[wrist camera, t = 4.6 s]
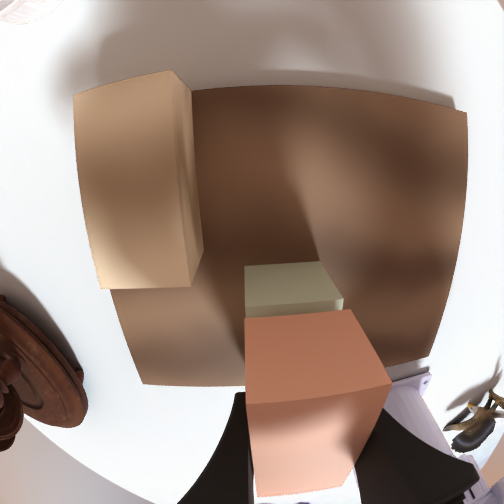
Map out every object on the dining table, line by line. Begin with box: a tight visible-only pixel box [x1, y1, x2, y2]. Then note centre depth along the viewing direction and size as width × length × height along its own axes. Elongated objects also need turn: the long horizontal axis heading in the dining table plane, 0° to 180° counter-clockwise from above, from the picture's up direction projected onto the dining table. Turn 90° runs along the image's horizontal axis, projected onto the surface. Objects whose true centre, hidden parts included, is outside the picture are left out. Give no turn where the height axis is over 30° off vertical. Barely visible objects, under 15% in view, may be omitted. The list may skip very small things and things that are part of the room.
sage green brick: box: [244, 261, 343, 318], centre depth 14 cm, size 8×4×4 cm, turn 3°
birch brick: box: [74, 70, 204, 289], centre depth 11 cm, size 8×4×4 cm, turn 3°
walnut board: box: [110, 85, 468, 387], centre depth 15 cm, size 18×22×1 cm
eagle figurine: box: [443, 389, 504, 453], centre depth 22 cm, size 8×7×9 cm
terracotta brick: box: [244, 309, 393, 497], centre depth 10 cm, size 8×4×4 cm, turn 3°
